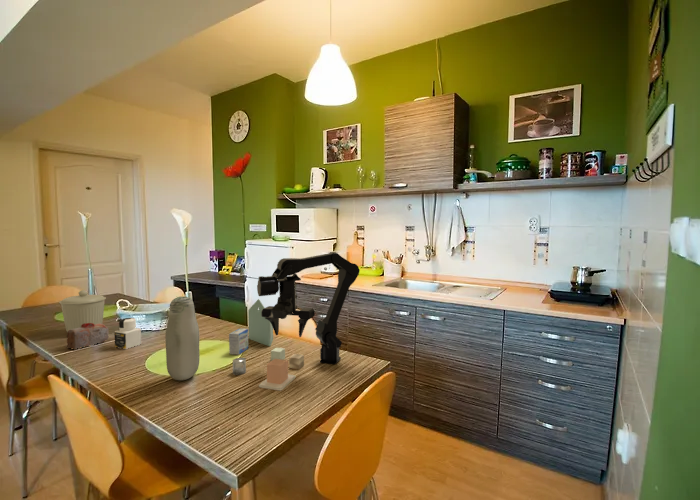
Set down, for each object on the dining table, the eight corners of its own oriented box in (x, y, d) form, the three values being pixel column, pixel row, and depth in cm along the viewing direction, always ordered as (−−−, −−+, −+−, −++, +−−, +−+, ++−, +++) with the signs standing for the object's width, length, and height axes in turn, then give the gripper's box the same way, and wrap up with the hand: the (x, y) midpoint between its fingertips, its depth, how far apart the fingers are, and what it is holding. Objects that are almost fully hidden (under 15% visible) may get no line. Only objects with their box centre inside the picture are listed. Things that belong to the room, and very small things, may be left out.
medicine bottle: (114, 347, 146) (113, 319, 145) (130, 342, 152) (129, 316, 152) (125, 349, 143) (124, 321, 142) (141, 344, 149) (140, 317, 149)
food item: (99, 339, 157) (98, 318, 156) (110, 341, 153) (109, 320, 153) (65, 348, 144) (64, 325, 143) (76, 351, 141) (75, 328, 140)
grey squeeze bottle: (168, 375, 118) (166, 295, 116) (200, 370, 122) (198, 293, 120) (165, 387, 109) (162, 300, 107) (199, 381, 113) (198, 298, 111)
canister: (85, 326, 177) (83, 286, 176) (116, 328, 174) (114, 287, 173) (50, 337, 159) (48, 293, 158) (84, 339, 156) (82, 294, 155)
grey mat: (295, 377, 116) (295, 375, 116) (281, 390, 106) (281, 388, 106) (274, 374, 118) (274, 372, 118) (258, 387, 109) (258, 384, 109)
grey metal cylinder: (248, 370, 122) (248, 358, 121) (241, 375, 117) (240, 363, 117) (237, 369, 123) (237, 357, 123) (230, 374, 119) (230, 361, 118)
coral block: (288, 377, 114) (287, 360, 113) (280, 384, 109) (280, 365, 109) (274, 375, 115) (274, 358, 115) (267, 382, 111) (266, 364, 110)
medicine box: (239, 355, 137) (238, 334, 136) (228, 354, 138) (228, 333, 137) (248, 348, 145) (248, 328, 144) (239, 347, 146) (238, 328, 145)
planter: (284, 342, 153) (283, 299, 152) (269, 346, 147) (269, 301, 146) (262, 334, 164) (262, 294, 163) (248, 338, 158) (247, 296, 157)
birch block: (303, 365, 127) (303, 354, 127) (299, 369, 123) (299, 358, 123) (294, 364, 128) (294, 353, 128) (289, 368, 124) (289, 357, 124)
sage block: (285, 358, 134) (285, 348, 133) (280, 362, 130) (280, 351, 130) (276, 357, 135) (276, 347, 135) (270, 360, 131) (270, 350, 131)
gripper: (252, 296, 117) (253, 341, 118) (302, 299, 112) (303, 345, 113) (268, 291, 127) (269, 331, 128) (314, 292, 123) (315, 335, 124)
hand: (288, 335), depth 123 cm, fingers open, 9 cm apart
